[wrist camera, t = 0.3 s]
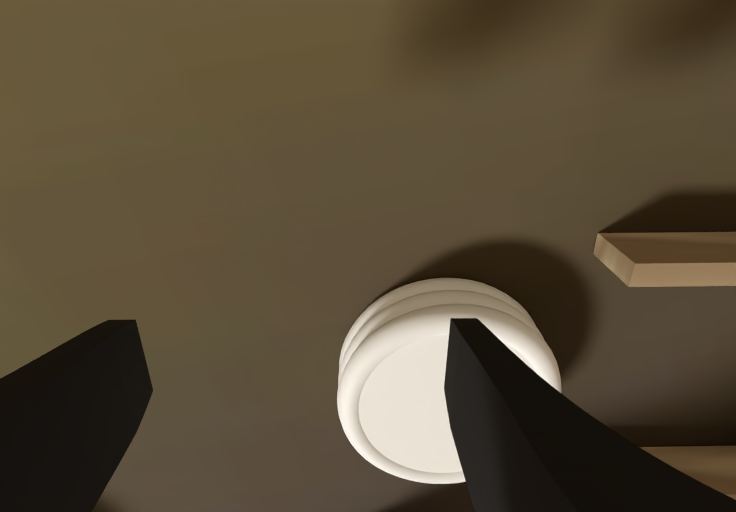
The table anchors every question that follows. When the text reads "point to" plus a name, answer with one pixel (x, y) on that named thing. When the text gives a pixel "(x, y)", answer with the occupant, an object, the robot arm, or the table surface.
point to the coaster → (422, 372)
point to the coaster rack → (679, 268)
